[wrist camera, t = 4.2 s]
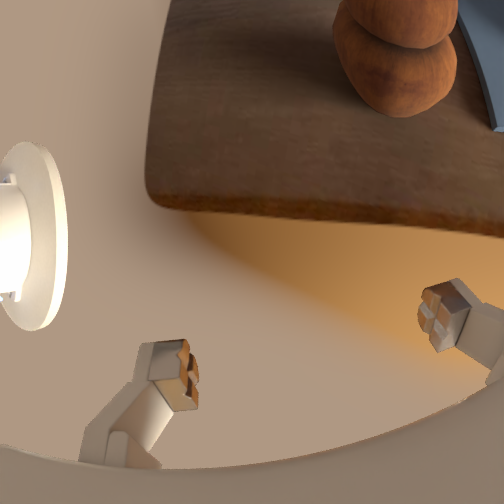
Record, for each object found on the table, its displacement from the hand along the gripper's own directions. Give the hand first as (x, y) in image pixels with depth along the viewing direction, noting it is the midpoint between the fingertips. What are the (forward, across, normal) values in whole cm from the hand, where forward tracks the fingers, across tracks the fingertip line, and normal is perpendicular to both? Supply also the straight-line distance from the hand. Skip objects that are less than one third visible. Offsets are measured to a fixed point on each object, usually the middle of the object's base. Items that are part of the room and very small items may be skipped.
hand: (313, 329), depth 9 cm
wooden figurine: (+12, +9, +7) cm, 16 cm away
